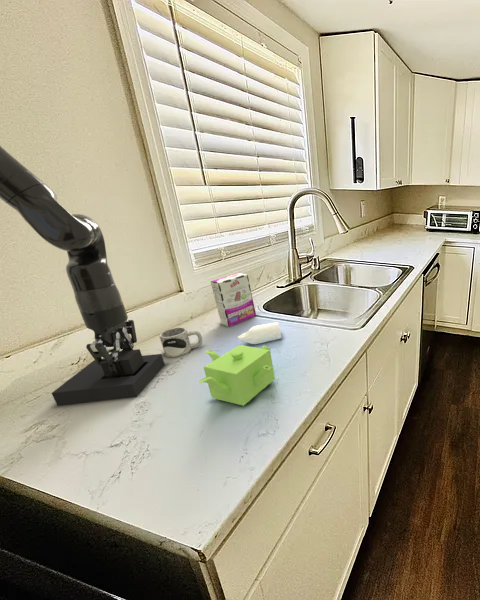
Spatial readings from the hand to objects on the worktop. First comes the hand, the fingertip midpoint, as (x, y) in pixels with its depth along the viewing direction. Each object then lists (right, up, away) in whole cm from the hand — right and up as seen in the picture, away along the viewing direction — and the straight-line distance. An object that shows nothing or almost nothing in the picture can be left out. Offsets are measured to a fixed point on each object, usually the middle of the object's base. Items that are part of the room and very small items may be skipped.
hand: (124, 368), depth 80 cm
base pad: (-3, -4, +1) cm, 5 cm away
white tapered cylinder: (+24, +3, +21) cm, 33 cm away
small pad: (0, 0, 0) cm, 0 cm away
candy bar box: (+10, +9, +37) cm, 39 cm away
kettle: (+30, -6, -2) cm, 31 cm away
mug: (+4, +1, +17) cm, 17 cm away
